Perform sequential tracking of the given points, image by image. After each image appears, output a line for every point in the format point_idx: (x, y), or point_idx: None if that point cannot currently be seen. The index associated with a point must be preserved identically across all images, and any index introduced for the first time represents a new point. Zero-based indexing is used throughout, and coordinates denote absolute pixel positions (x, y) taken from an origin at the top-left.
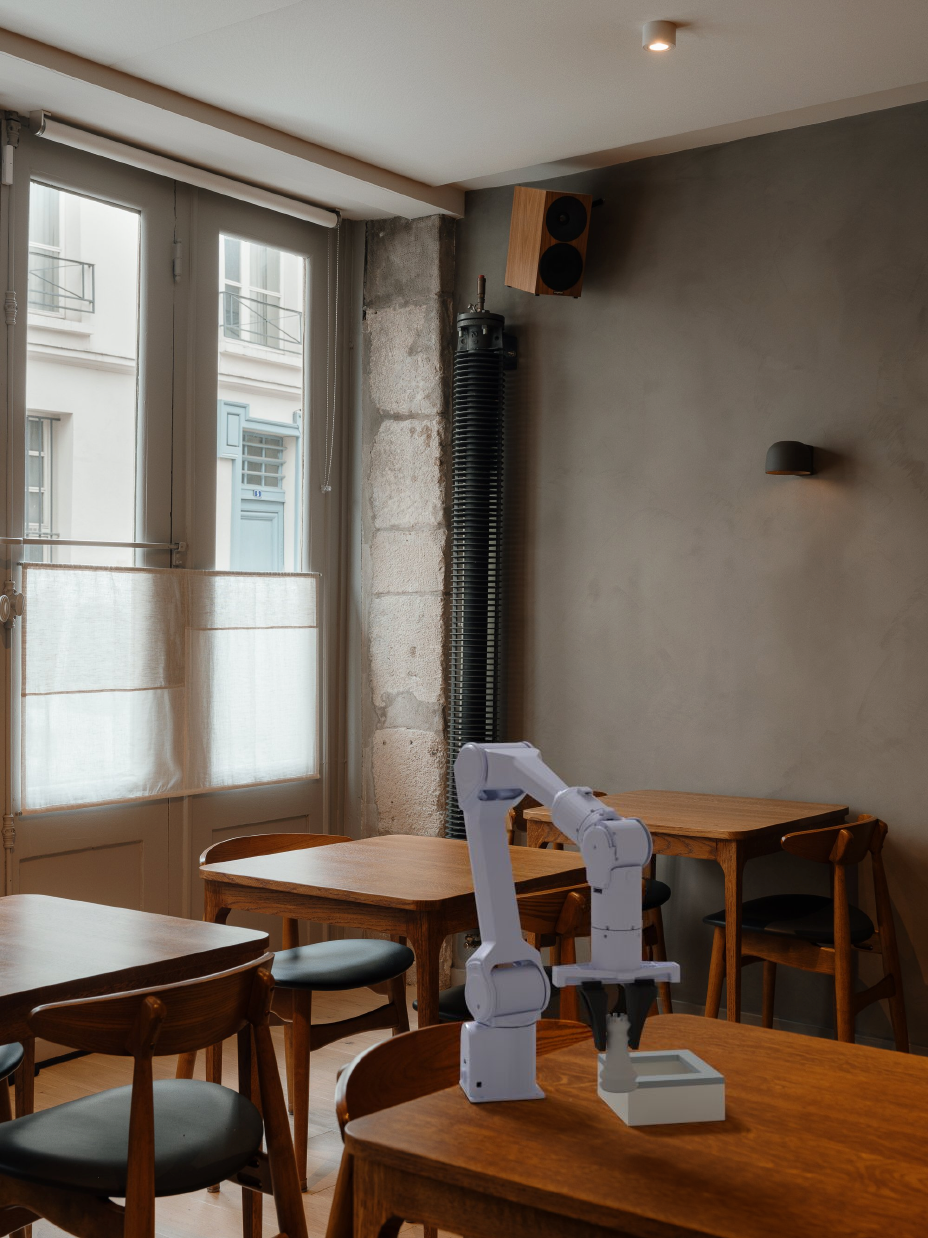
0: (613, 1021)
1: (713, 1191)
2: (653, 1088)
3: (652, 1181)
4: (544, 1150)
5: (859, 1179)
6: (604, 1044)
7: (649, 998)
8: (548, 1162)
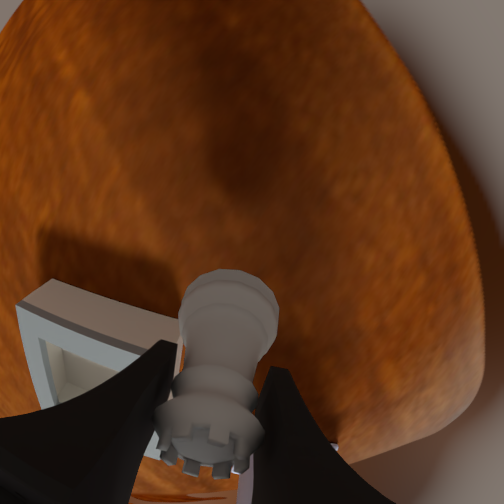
0: (235, 436)
1: (215, 25)
2: (124, 341)
3: (284, 90)
4: (367, 286)
5: (31, 37)
6: (279, 378)
7: (32, 436)
8: (391, 239)
